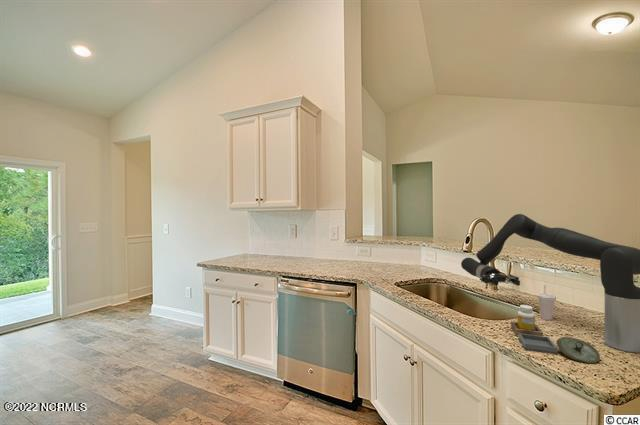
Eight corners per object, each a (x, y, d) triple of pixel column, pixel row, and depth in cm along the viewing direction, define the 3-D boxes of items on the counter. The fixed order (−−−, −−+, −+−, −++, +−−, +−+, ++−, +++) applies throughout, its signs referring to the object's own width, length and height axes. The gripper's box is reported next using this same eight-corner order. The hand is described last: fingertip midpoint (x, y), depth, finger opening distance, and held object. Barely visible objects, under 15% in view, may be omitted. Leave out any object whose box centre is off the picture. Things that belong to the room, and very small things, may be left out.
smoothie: (538, 314, 130) (538, 282, 130) (557, 318, 125) (557, 285, 125) (535, 318, 125) (535, 285, 125) (554, 322, 121) (554, 288, 121)
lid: (585, 349, 98) (585, 334, 98) (609, 365, 88) (609, 348, 88) (549, 347, 99) (549, 332, 99) (569, 362, 90) (569, 346, 90)
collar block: (536, 329, 114) (536, 324, 114) (542, 338, 106) (542, 332, 106) (511, 326, 117) (511, 321, 117) (515, 334, 110) (515, 329, 110)
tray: (548, 342, 103) (548, 337, 103) (557, 354, 95) (557, 348, 95) (518, 338, 106) (518, 333, 106) (524, 349, 98) (524, 343, 98)
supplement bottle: (518, 328, 116) (518, 303, 116) (535, 331, 112) (535, 306, 112) (516, 332, 111) (516, 307, 111) (534, 336, 108) (534, 310, 108)
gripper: (472, 266, 139) (490, 274, 123) (503, 266, 139) (526, 274, 123) (472, 281, 140) (490, 292, 123) (503, 282, 139) (526, 292, 123)
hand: (508, 283), depth 123 cm, fingers open, 8 cm apart
